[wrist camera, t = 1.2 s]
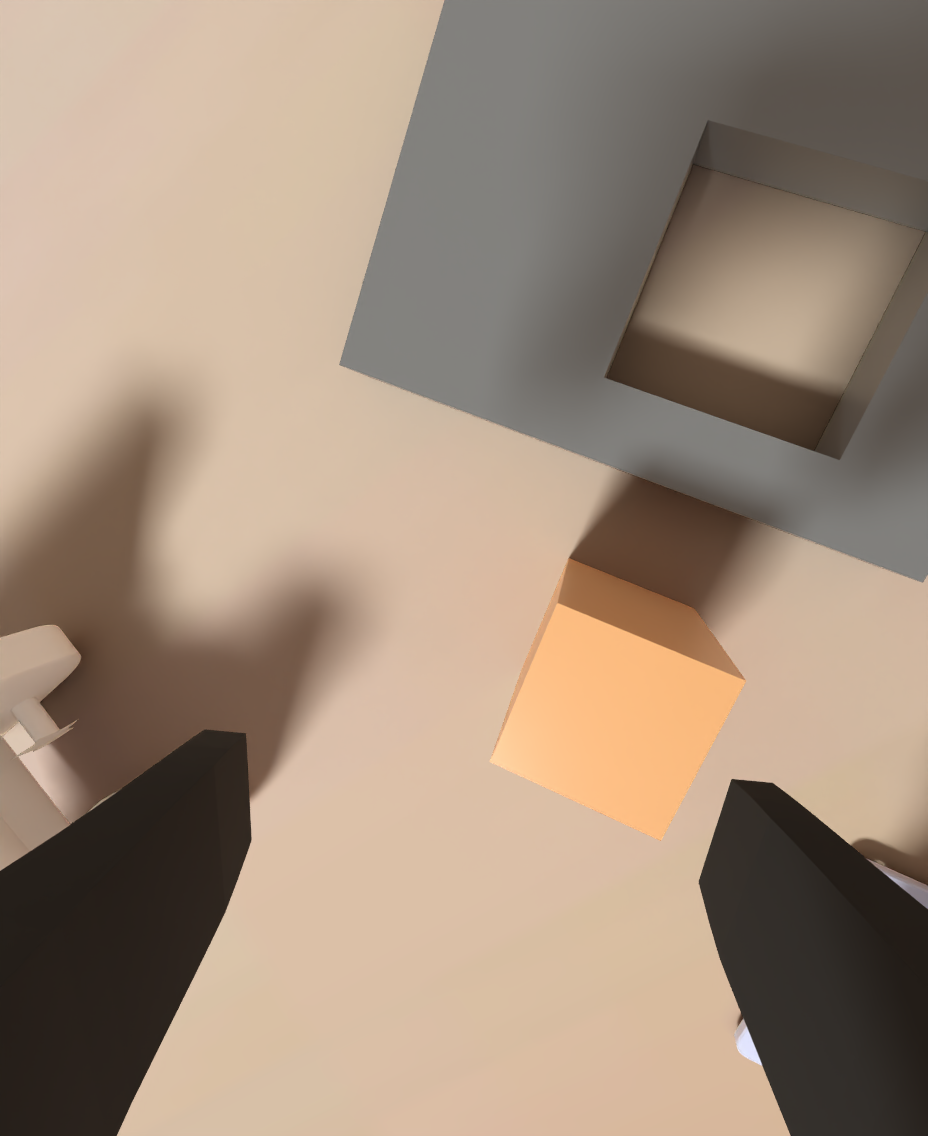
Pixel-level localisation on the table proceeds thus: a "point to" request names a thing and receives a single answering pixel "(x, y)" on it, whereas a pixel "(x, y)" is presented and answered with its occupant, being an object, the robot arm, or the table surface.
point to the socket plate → (654, 236)
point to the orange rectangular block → (617, 699)
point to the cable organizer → (10, 695)
